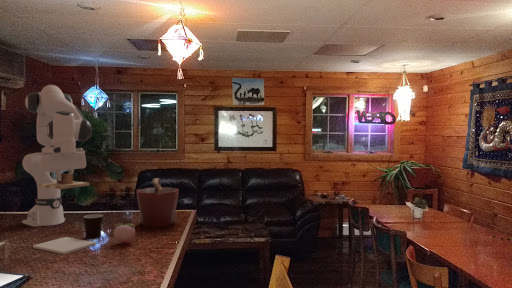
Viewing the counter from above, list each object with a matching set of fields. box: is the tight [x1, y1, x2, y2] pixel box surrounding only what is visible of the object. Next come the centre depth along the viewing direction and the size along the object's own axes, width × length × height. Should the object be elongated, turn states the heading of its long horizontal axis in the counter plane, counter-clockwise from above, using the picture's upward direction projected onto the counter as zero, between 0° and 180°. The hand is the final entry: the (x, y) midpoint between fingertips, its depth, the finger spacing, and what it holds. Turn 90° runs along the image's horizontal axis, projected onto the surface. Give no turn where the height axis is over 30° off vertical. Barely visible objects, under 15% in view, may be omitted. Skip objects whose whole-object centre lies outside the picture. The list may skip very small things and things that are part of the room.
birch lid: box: [39, 173, 90, 190], centre depth 170 cm, size 14×14×5 cm
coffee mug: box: [83, 213, 104, 240], centre depth 188 cm, size 12×9×10 cm
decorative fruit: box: [113, 221, 136, 244], centre depth 175 cm, size 9×8×10 cm
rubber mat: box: [32, 236, 97, 255], centre depth 171 cm, size 20×16×1 cm
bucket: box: [136, 177, 180, 228], centre depth 214 cm, size 24×22×25 cm
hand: (64, 180), depth 170 cm, fingers closed on birch lid, 3 cm apart
